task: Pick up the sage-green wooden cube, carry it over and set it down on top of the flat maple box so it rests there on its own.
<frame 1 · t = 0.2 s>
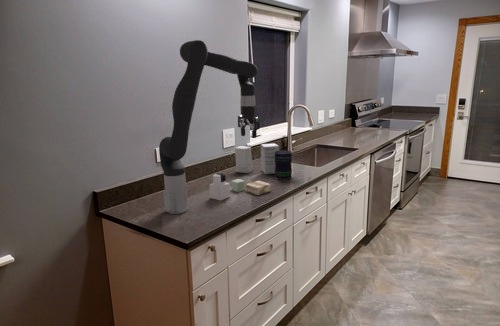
hand: (248, 136, 180), 28 cm above the worktop, tool pointing down, fingers open, 8 cm apart
medicine bottle: (220, 197, 174), on the worktop
sage cube: (238, 189, 185), on the worktop
supplement box: (270, 172, 217), on the worktop
skincare box: (244, 171, 219), on the worktop
storage jar: (283, 177, 205), on the worktop
maple box: (258, 191, 182), on the worktop
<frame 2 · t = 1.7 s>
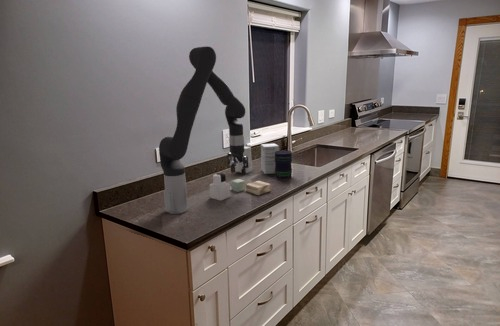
hand: (238, 174, 183), 8 cm above the worktop, tool pointing down, fingers open, 8 cm apart
nothing on the worktop moved.
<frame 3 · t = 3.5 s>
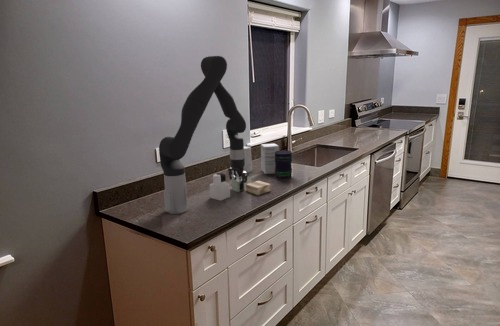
hand: (238, 188, 185), 0 cm above the worktop, tool pointing down, fingers closed on sage cube, 5 cm apart
sage cube: (238, 189, 185), on the worktop, touching gripper
everything else where it was.
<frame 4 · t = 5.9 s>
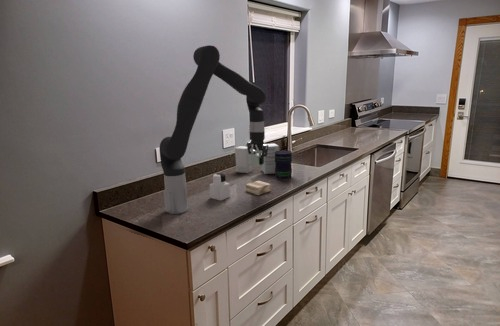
hand: (257, 163, 179), 15 cm above the worktop, tool pointing down, fingers closed on sage cube, 5 cm apart
sage cube: (257, 164, 179), point 14 cm above the worktop, touching gripper
everything else where it was.
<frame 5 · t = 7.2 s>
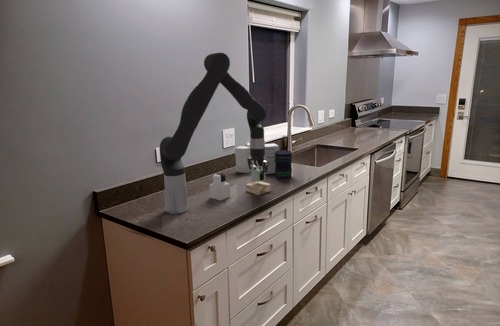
hand: (258, 178, 181), 6 cm above the worktop, tool pointing down, fingers closed on sage cube, 5 cm apart
sage cube: (258, 179, 181), point 6 cm above the worktop, touching gripper
everything else where it was.
when the fingers open (5 cm above the worktop, at t = 8.3 s): sage cube drops 1 cm, resting on maple box.
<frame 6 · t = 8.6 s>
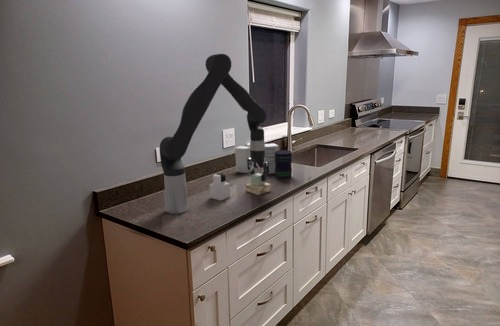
hand: (258, 179, 181), 6 cm above the worktop, tool pointing down, fingers open, 7 cm apart
sage cube: (258, 184, 181), point 4 cm above the worktop, touching maple box
maple box: (258, 191, 182), on the worktop, touching sage cube
everything else where it was.
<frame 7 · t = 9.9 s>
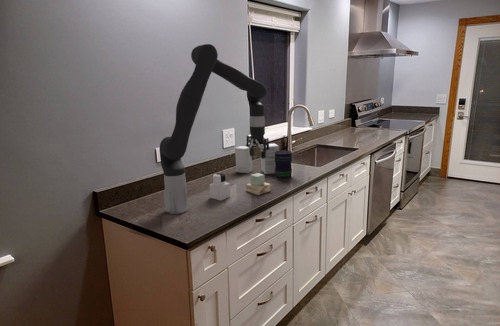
hand: (257, 157, 178), 18 cm above the worktop, tool pointing down, fingers open, 8 cm apart
nothing on the worktop moved.
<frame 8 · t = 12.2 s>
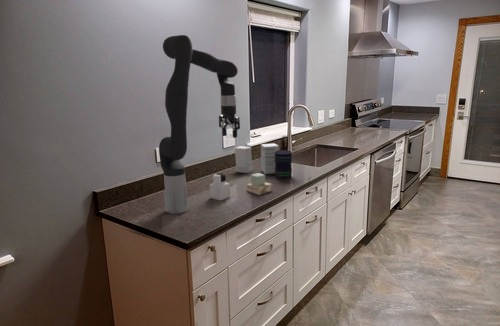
hand: (229, 136, 179), 28 cm above the worktop, tool pointing down, fingers open, 8 cm apart
sage cube: (258, 184, 181), point 4 cm above the worktop
maple box: (259, 191, 182), on the worktop
everything else where it was.
at the end: sage cube inside the target area on the maple box (0.7 cm from its centre), point 4.0 cm above the maple box's base; sage cube tilted 1°; the gripper is holding nothing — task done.
